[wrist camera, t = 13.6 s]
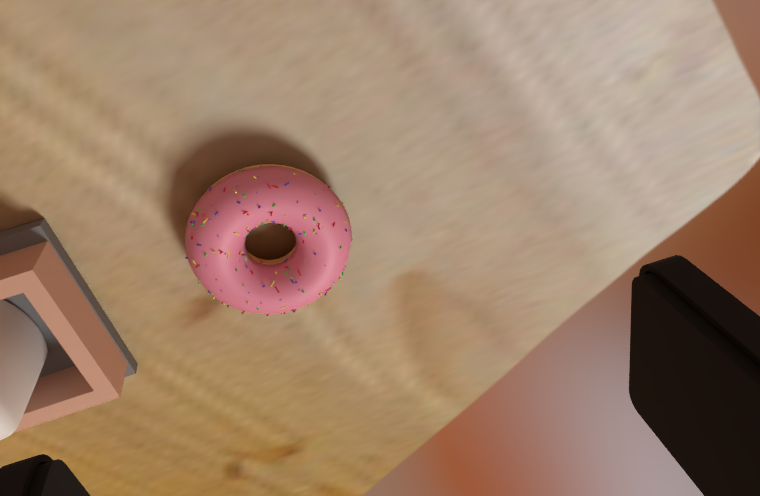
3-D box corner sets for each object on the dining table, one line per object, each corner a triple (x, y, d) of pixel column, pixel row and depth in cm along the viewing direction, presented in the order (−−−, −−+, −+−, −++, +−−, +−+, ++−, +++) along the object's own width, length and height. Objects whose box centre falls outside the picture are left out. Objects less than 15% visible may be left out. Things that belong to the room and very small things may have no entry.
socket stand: (-131, 272, 37) (-172, 315, 33) (44, 218, 37) (23, 254, 34) (-8, 412, 44) (-31, 461, 40) (137, 364, 44) (129, 407, 41)
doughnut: (352, 154, 40) (363, 179, 36) (342, 291, 45) (351, 324, 42) (181, 152, 37) (176, 178, 34) (192, 297, 43) (188, 333, 39)
